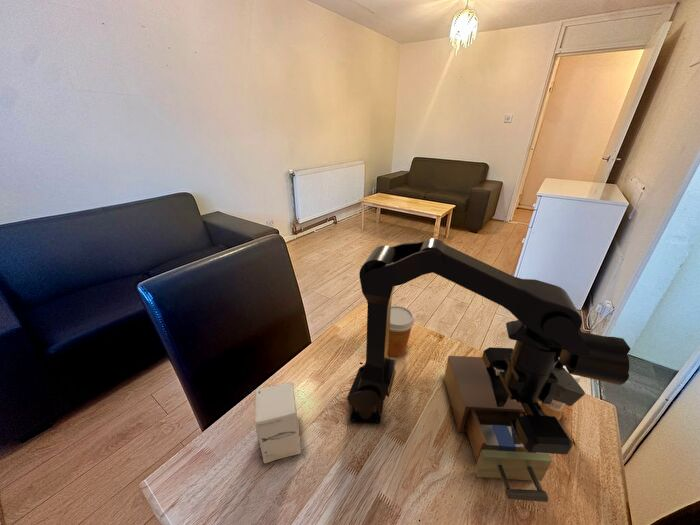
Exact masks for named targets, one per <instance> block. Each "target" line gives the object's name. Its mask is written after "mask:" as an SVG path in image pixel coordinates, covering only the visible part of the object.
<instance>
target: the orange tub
mask: <svg viewBox="0 0 700 525" xmlns="http://www.w3.org/2000/svg"><path fill="white" fill-rule="evenodd" d="M415 322H416V318H415V317H414V313H413V312H412V311H411V310H410V309H408V308H407V307H405V306H403V305H402V306H401V305H391V315H390V329H389V342H388V356H389V357H390V356H391V357H400V356H403V355H404V354H405V353H406V350H407V346H408V342H409V339H410V335H411V331H412V328H413V326H414V325H415Z"/></svg>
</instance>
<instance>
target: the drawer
mask: <svg viewBox="0 0 700 525" xmlns="http://www.w3.org/2000/svg"><path fill="white" fill-rule="evenodd" d="M521 416H524V415H523V413H522V412H509V411H490V410H471V409H469V411H468V415H467V418H466V422H465V427H466V430H467V432H466V433H467V436H468V440H469V442H470V446H471V449H472V452H473V455H474V458H475V462H476V464H475V467H474V472H475V476H476V478H489V479H501V480H502V482H503V485H504V487H505V489H504V490H505V496H506V498H507V500H511V501H523V502H524V501H525V502H539V503H541V502H542V503H548V502H549V496H548V493H547V492H546V491H545V490H543V489H542V486H541V484H540V482H542V481H543V479H544V477H545V475H546V474H547V472H548V470H549V468H550V467H551V464H552V463H553V459H552V457H551V455H550V453H535V452H530V451H528V452H512V451H495V450H485V447H486V444H487V442H486V439H485V436H484V434H483V431H482V428H481V425H480V424H485V425H506V426H511V423H510V419H512V420H517V418H519V417H521ZM509 480H519V481H520V480H521V481H532V482H533V484H534V486H535V489H523V488H511V485H510V482H509Z"/></svg>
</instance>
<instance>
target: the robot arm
mask: <svg viewBox="0 0 700 525" xmlns="http://www.w3.org/2000/svg"><path fill="white" fill-rule="evenodd" d="M432 273H433V274H435V275H437V276H439V277H441V278H443V279H445V280H447V281H450V282H452V283H453V284H455V285H458V286H460V287H462V288H463V289H466V290H468V291H470V292H472V293H474V294H476V295H479V296H480V297H482V298H485V299H487V300H489V301H490V302H493V303H495V304H497V305H499V306H501V307H503V308H504V309H506V310H507V311H509V312H510V313H511V314H512V316H514V317H515V318H516V320H511V321H507V322H506V323H505V328H506V332H507V337H508V339H509V340H512V341H515V344H514V346H513V348H512V347H493V346H491V347H487V348H486V349H484V350H483V352H482V356H481V357H482V359H483V361H484V363H485V365H486V370H487V373H488V376H489V380H490V383H491V386H492V389H493V393H494V397H495V401H496V404H497V406H498V407H503V406H504V405H505V403H506V402H507V400H508V397H510V399H512V400H514V401H515V402H521V404H522V406H523V408H524V410H525V412H526V414H527V415H524V416H521V417H519V418H517V420H512V419H510V423H511V431H512V439H513V443H514V444H522V443H523V445H524V448H525V449H527V450H528V451H530V452H535V453H545V454H552V455H553V454H555V455H569V452H570V451H571V449H572V447H573V445H574V442H573V439H572V438H571V436H570V435H569V434H568V432H567V431H566V429H565V427H564V425H563V424H562V422H561V421H560V419H559V420H558V419H557V418H556V417H555V416H548V415H545V413H544V412H543V410H542V408H541V407H540V405H539V402H540V401H542V403H543V404H551V403H552V400H555V401H559V402H562V403H565V404H566V406H568V407H572V406H573V405H575V404H576V403H577V402H578V401H579V400H580V399H582V398H583V397H584V395H585V394H586V392H585V391H584V389H583V388H582V387H581V385H580V384H579V383H577V381H576V380H575V379H574V378H573V376H572V375H577V376H581V378H586V379H590V380H595V381H598V382H599V381H600V382H604V383H608V384H612V385H617V386H621V385H624V384H625V383H626V382H627V381H628V380H629V378H630V374H629V372H630V358H629V353H630V351H631V349H632V348H631V347H630V345H629V344H628V343H627V341H626V340H625V339H624V337H623V338H622V337H618V336H605V335H601V334H595V333H589V332H584V331H582V329H581V328H582V324H583V318H582V315H581V314H580V312H579V311H578V309H577V307H576V305H575V304H574V302H573V300H572V299H571V296H570V295H569V294H568V292H567V291H566V290H565V289H564V288H562V287H561V286H558V285H555V284H552V283H549V282H545V281H543V280H538V279H533V278H532V279H531V278H521V277H517V276H514V275H512V274H510V273H507V272H505V271H503V270H501V269H499V268H496V267H494V266H492V265H491V264H488V263H486V262H484V261H481V260H480V259H477V258H475V257H473V256H471V255H469V254H466V253H464V252H463V251H460V250H458V249H457V248H454V247H452V246H449V245H448V244H446V243H444V242H443V241H442V240H441V239H438V238H427V239H425V240H422V241H415V242H404V243H400V244H397V245H393V246H390V245H379V246H377V247H375V248H374V249H373V250H371V252H370V254H369V255H368V257H367V259H366V260H365V261H364V263H363V264H362V266H361V267H360V269H359V274H358V276H359V282H360V287H361V293H362V295H363V296H364V298H365V300H366V303H367V312H366V313H367V314H366V346H365V348H366V349H365V351H366V352H365V362H364V365H362V366H360V367H359V368H358V370H357V372H356V374H355V377H354V380H353V382H352V384H351V387H350V390H349V392H348V394H347V397H346V399H347V402H348V404H349V405H350V419H349V420H350V423H351V424H364V425H380V424H381V415H383V411H384V401H385V400H386V398H390V395H391V392H392V387H393V384H394V380H395V376H396V373H397V370H396V369H395V368H396V364H397V359H395V358H394V359H393V358H390V355H388V342H389V329H390V315H391V306H392V300H393V295H394V291H395V288H396V287H397V286H402V285H405V284H406V283H409V282H411V281H413V280H415V279H417V278H420V277H422V276H423V275H429V274H432ZM563 366H566V369H567V371H568V372H569V373H568V372H567V371H566V369H565V368H563ZM571 374H572V375H571Z"/></svg>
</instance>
